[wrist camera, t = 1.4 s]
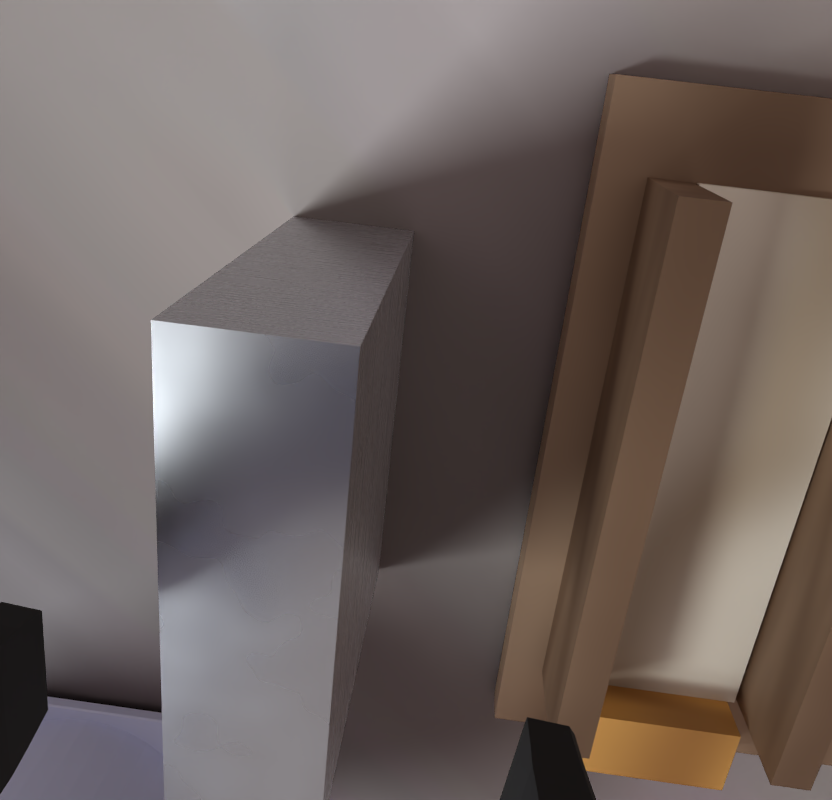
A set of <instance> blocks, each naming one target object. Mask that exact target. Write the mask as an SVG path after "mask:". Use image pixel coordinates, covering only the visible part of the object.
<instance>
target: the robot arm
mask: <svg viewBox="0 0 832 800" xmlns="http://www.w3.org/2000/svg"><path fill="white" fill-rule="evenodd" d="M0 800H164V770H163V734H162V713H160V712H153V711H146V710H139V709H132V708H125V707H118V706H111V705H104V704H97V703H90V702H83V701H76V700H69V699H62V698H55V697H48V696H47V684H46V669H45V653H44V638H43V623H42V611H40V610H36V609H31V608H27V607H22V606H18V605H13V604H8V603H4V602H1V603H0ZM500 800H596V798H595V795H594V792H593V789H592V786H591V784H590V781H589V778H588V775H587V772H586V769H585V766H584V763H583V760H582V757H581V753H580V750H579V747H578V744H577V740H576V737H575V734H574V732H573V731H572V729H571V728H570V727H569V726H566V725H561V724H557V723H552V722H548V721H543V720H539V719H534V718H529V717H527V719H526V722H525V725H524V728H523V731H522V734H521V737H520V740H519V743H518V746H517V749H516V752H515V755H514V758H513V761H512V764H511V767H510V770H509V774H508V777H507V780H506V783H505V786H504V789H503V792H502V795H501V798H500Z"/></svg>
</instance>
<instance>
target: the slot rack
mask: <svg viewBox="0 0 832 800" xmlns="http://www.w3.org/2000/svg"><path fill="white" fill-rule="evenodd" d="M494 709H495V718H499V719H506V720H513V721H520V722H526V719H527V717H529V718H534V719H539V720H543V721H548V722H552V723H557V724H561V725H566V726H569V727H570V728H571V729H572V731H573V732H574V734H575V737H576V740H577V744H578V747H579V750H580V753H581V757H582V760H583V763H584V766H585V769H586V771H591V772H598V773H605V774H612V775H619V776H626V777H633V778H640V779H647V780H654V781H660V782H667V783H674V784H681V785H688V786H695V787H702V788H709V789H716V790H722V789H723V786H724V783H725V780H726V778H727V775H728V772H729V769H730V766H731V763H732V761H733V758H734V755H735V752H739V753H746V754H753V755H759V757H760V760H761V762H762V764H763V767H764V769H765V772H766V774H767V777H768V779H769V782H770V784H771V785H776V786H783V787H790V788H797V789H804V790H811V788H812V786H813V783H814V781H815V778H816V776H817V774H818V771H819V769H820V766H821V764H824V765H831V766H832V99H831V98H822V97H814V96H805V95H796V94H787V93H778V92H769V91H761V90H752V89H743V88H734V87H725V86H717V85H708V84H699V83H690V82H681V81H672V80H664V79H655V78H646V77H637V76H628V75H619V74H609V79H608V85H607V90H606V96H605V101H604V106H603V112H602V117H601V122H600V128H599V133H598V139H597V144H596V149H595V155H594V160H593V165H592V171H591V176H590V182H589V187H588V192H587V198H586V203H585V208H584V214H583V219H582V225H581V230H580V235H579V241H578V246H577V251H576V257H575V262H574V268H573V273H572V278H571V284H570V289H569V294H568V300H567V305H566V311H565V316H564V321H563V327H562V332H561V337H560V343H559V348H558V354H557V359H556V364H555V370H554V375H553V381H552V386H551V391H550V397H549V402H548V407H547V413H546V418H545V424H544V429H543V434H542V440H541V445H540V450H539V456H538V461H537V467H536V472H535V477H534V483H533V488H532V493H531V499H530V504H529V510H528V515H527V520H526V526H525V531H524V536H523V542H522V547H521V553H520V558H519V563H518V569H517V574H516V579H515V585H514V590H513V596H512V601H511V606H510V612H509V617H508V622H507V628H506V633H505V639H504V644H503V649H502V655H501V660H500V666H499V671H498V676H497V682H496V687H495V692H494Z"/></svg>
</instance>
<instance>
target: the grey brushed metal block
mask: <svg viewBox="0 0 832 800" xmlns="http://www.w3.org/2000/svg"><path fill="white" fill-rule="evenodd" d="M413 236H414V231H410V230H401V229H393V228H385V227H377V226H368V225H360V224H352V223H344V222H335V221H327V220H319V219H311V218H302V217H292V218H291V219H290V220H288V221H287V222H285V223H284V224H283V225H281V226H280V227H279V228H277V229H276V230H274V231H273V232H272V233H270V234H269V235H267V236H266V237H265V238H263V239H262V240H261V241H259V242H258V243H256V244H255V245H254V246H252V247H251V248H250V249H248V250H247V251H245V252H244V253H243V254H241V255H240V256H239V257H237V258H236V259H234V260H233V261H232V262H230V263H229V264H228V265H226V266H225V267H223V268H222V269H221V270H219V271H218V272H216V273H215V274H214V275H212V276H211V277H210V278H208V279H207V280H205V281H204V282H203V283H201V284H200V285H199V286H197V287H196V288H194V289H193V290H192V291H190V292H189V293H188V294H186V295H185V296H183V297H182V298H181V299H179V300H178V301H177V302H175V303H174V304H172V305H171V306H170V307H168V308H167V309H165V310H164V311H163V312H161V313H160V314H159V315H157V316H156V317H154V318H153V319H152V320H151V338H152V374H153V410H154V446H155V482H156V518H157V554H158V590H159V626H160V662H161V698H162V734H163V770H164V800H329V797H330V793H331V788H332V784H333V779H334V774H335V770H336V765H337V761H338V756H339V751H340V747H341V742H342V738H343V733H344V728H345V724H346V719H347V714H348V710H349V705H350V701H351V696H352V691H353V687H354V682H355V678H356V673H357V668H358V664H359V659H360V655H361V650H362V645H363V641H364V636H365V631H366V627H367V622H368V618H369V613H370V608H371V604H372V599H373V595H374V590H375V585H376V581H377V576H378V571H379V564H380V555H381V545H382V535H383V526H384V516H385V506H386V497H387V487H388V477H389V468H390V458H391V448H392V439H393V429H394V419H395V410H396V400H397V390H398V381H399V371H400V361H401V352H402V342H403V332H404V323H405V313H406V303H407V294H408V284H409V274H410V265H411V255H412V245H413Z"/></svg>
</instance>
